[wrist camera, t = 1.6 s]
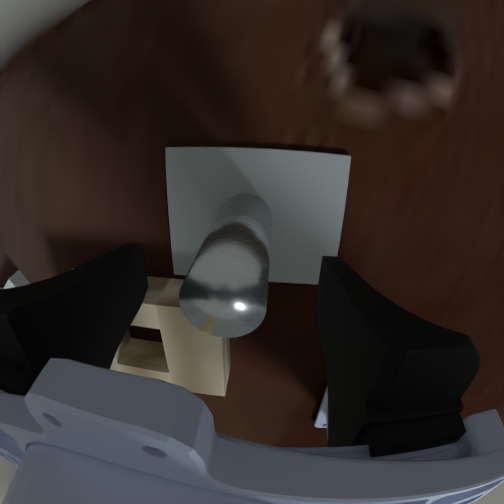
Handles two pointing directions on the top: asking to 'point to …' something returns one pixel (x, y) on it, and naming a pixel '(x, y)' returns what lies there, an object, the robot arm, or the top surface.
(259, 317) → the peg
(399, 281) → the top surface
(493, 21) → the top surface
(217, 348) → the hole block
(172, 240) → the mat
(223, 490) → the robot arm
